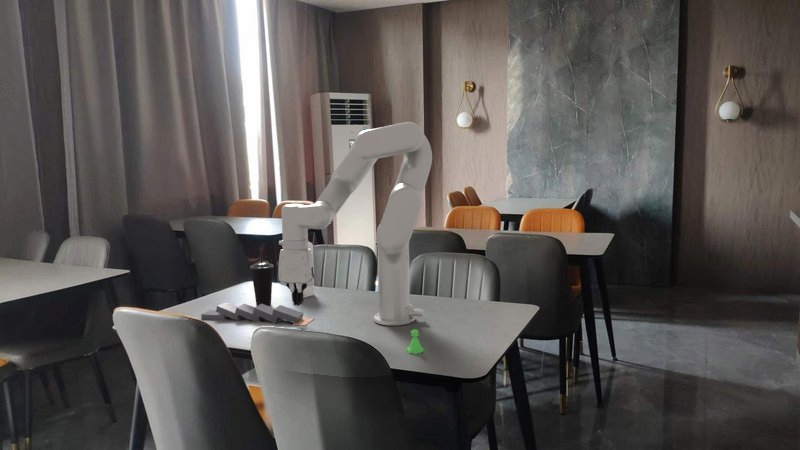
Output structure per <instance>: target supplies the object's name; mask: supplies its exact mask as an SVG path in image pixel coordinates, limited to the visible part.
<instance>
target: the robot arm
mask: <svg viewBox="0 0 800 450" xmlns="http://www.w3.org/2000/svg"><path fill="white" fill-rule="evenodd" d="M402 154H403V160H402V163H401V167H400V168H399V169H400V170H399V173H398V176H397V179H396V181H395V184H394V186H393V189H392V190H391V192H390V194H389V197H388V200H387V204H386V207H385V209H384V212H383V215H382V218H381V221H380V223H379V224H378V226H377V230H376V236H375V237H376V243H377V287H378V288H377V290H378V291H377V293H378V313H375V314H374V316H373V321H374V322H375V323H376V324H378V325H383V326H389V327H390V326H392V327H393V326H394V327H395V326H403V325H408V324H412V323H413V322H414V321H415V320H416V317H419V318H420V317H421V318H422V317H424V315H425V313H424V312H425V311H424V310H423V309H421V308H415V307H413V304H412V303H411V302H410V299H411V297H410V293H411V292H410V290H411V289H410V241H411V240H410V239H411V238H412V235H413V232H414V229H415V227H416V224H417V221H418V220H419V216H420V213H421V209H422V205H423V199H422V197H423V193H424V190H425V187H426V185H427V182H428V178H429V174H430V172H431V167H432V162H433V151H432V147H431V144H430V141H429V140H428V138H427V137H426V135H425V134H424V132H423V129H422V127H420V126H419V125H418V124H417V123H415V122H412V121H406V122H401V123H400V122H399V123H395V124H391V125H385V126H381V127H376V128H370V129H365V130H362V131H360V132H359V133H358V134H357V135H356V137H355V139H354V142H353V143H352V145H351V147H349V148H348V150H347V152H346V153H345V154H344V156H343V157H342V159H341V160H340V162H339V163H338V164H337V166H336V167H335V169H334V171H333V172H332V175H331V177H330V180H329V182H328V184H327V185H326V187H325V188H324V190H323V191H322V193H321V194H320V195H319V197H318V198H317V199H316V200H315V202H314V203H313V204H310V205H305V204H304V203H288V204H284V205H282V207H281V229H282V231H281V232H282V239H281V240H279V241H278V245H279V246H281V247H282V249H280V251H279V258H278V280H279V284H280V285H281V286H283V287H284V286H285V287H287V289H289V291H290V293H291V292H292V295H291V299H292V300H291V301H292V302H293V306H300V305H302V304H303V302H304V298H303V291H304V290H305V288H306V287H310V286H313V285H314V286H315V266H314V257H313V258H312V254H311V250H310V249H308V241H309V232H308V231H309V229H311V230H312V229H313V230H322V229H325V228H326V227H328V226H329V225H330V224H331V222H332V221H333V220H334V219H335V217H336V216H337V214H338V213H339V211H340V210H341V208H342V207H343V206H344V204H345V203H346V201H347V200H348V199H349V197H350V196H351V195H352V194H353V193H354V192H355V191H357V189H358V187H359V185H360V184H362V182H363V180H364V179H365V177H366V176H367V175H368V173H369V172H370V170H371V169H372V167H373V166H374V165H375V163H376V162H377V161H378V159H382V158H387V157H392V156H397V155H402ZM313 279H314V280H313ZM297 283H298V289H297Z"/></svg>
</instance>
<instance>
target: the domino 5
mask: <svg viewBox="0 0 800 450" xmlns="http://www.w3.org/2000/svg"><path fill="white" fill-rule="evenodd" d="M272 315H273V316H276V317H278V318H281V320H285V321H287V322H290V323H293V324H294V323H295V324H296V323H297V322H299V321H300V320H301V319H302V318H304V317H303V316H304V312H301V311H299V310H296V309H294V308H293V309H292V308H290V307H287V306H286V305H285V306H284V305H282V304H279V305H278V306H276V307H274V309H273V313H272Z"/></svg>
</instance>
